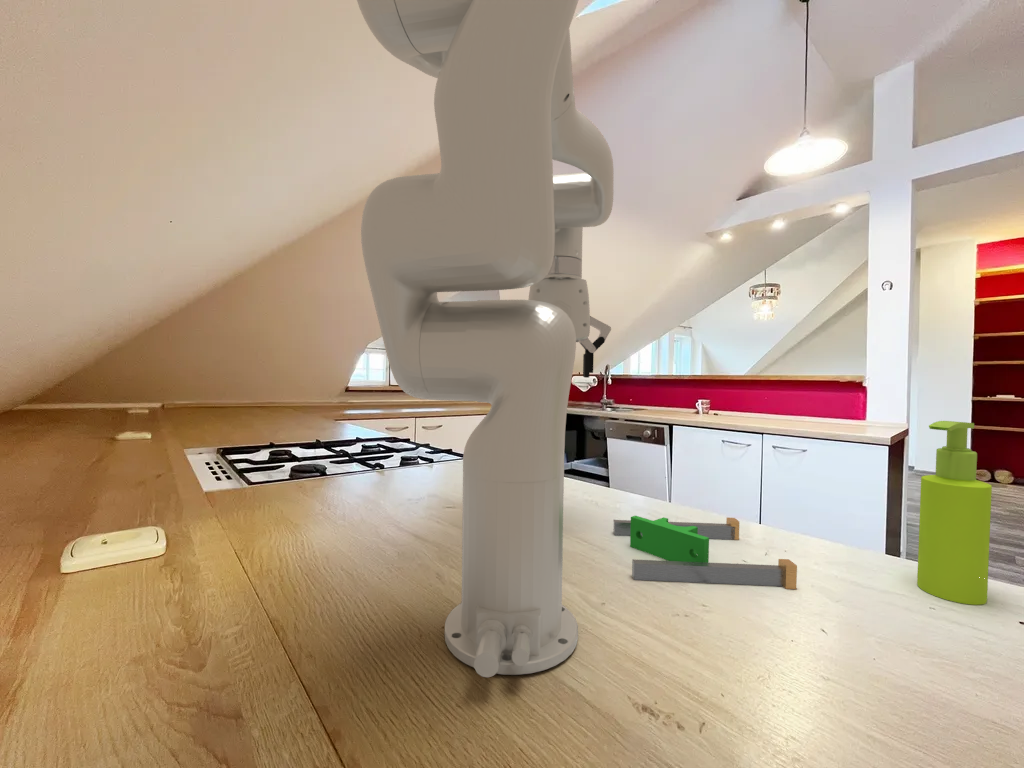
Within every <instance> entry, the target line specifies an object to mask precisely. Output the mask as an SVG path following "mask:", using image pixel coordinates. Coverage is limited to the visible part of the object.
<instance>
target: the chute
mask: <svg viewBox="0 0 1024 768" xmlns="http://www.w3.org/2000/svg"><path fill="white" fill-rule="evenodd" d="M725 521H726V522H725V523H715V522H714V523H713V522H711V523H710V522H687V521H685V522H683V521H668V523H669V524H672V525H676V526H682V527H689V526H695V527H698V535H702V536H705V537H708V538H709V540H710V539H711V540H732V541H733V540H734V541H739V540H740V521H739V520H738V519H737V518H736V517H726V519H725ZM630 531H631V519H613V535H614V536H623V537H625V536H629V537H630ZM641 536H642V533H641ZM631 561H632V562H631V563H632V564H631V565H632V566H631V576H632V578H633V580H635V581H650V582H651V581H656V582H674V583H675V582H676V583H697V584H719V585H720V584H721V585H724V584H725V585H742V586H743V585H746V586H750V585H751V586H765V587H766V586H768V587H783V588H784V589H787V590H797V579H798V578H797V577H798V565H797V564H796V563H795V562H793V561H792V560H790V559H787V558H778V565H775V564H773V565H772V564H753V563H750V564H748V563H726V562H708V563H707V562H683V561H668V560H657V559H655V560H652V559H635V558H633V559H632V560H631Z"/></svg>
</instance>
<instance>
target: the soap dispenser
mask: <svg viewBox="0 0 1024 768" xmlns="http://www.w3.org/2000/svg"><path fill="white" fill-rule="evenodd" d="M928 428H929V429H930V430H935V431H936V430H937V431H946V446H941V447H939V448H936V453H935V474H927V475H921V477H920V495H919V496H920V498H919V499H920V500H919V522H918V523H919V525H918V526H919V528H918V551H917V576H916V578H917V580H916V585H917V587H918V588H919V589H920V590H922V591H924V592H925V593H927V594H929V595H932V596H934V597H936V598H940V599H943V600H946V601H949V602H952V603H953V602H954V603H958V604H963V605H974V606H980V605H981V606H982V605H985V604H987V602H988V589H989V585H988V584H989V563H990V562H989V561H990V539H991V538H990V536H991V535H990V534H991V520H992V519H991V517H992V516H991V514H992V513H991V512H992V491H993V485H992V484H989V482H988V483H987V482H985V481H982V480H978V479H977V467H978V466H977V464H978V463H977V462H978V453H977V452H976V451H973V450H972V449H971V448H968V429H975V423H974V422H965V421H952V420H939V421H935V422H933V423H931V424H929V425H928ZM979 577H980V578H979ZM984 578H985V579H984Z"/></svg>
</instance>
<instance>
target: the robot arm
mask: <svg viewBox="0 0 1024 768" xmlns="http://www.w3.org/2000/svg"><path fill="white" fill-rule="evenodd" d="M356 1H357V4H358V7H359V10H360V12H361V14H362V16H363V19H364V21H365V24H366V25H367V27H368V29H369V30H370V32H371V34H372V35H373V36H374V37H375V39H376V40H377V41H378V43H379V44H380V45H381V46H382V47H383V48H384V49H385V50H386V51H387V52H389V54H391V55H392V56H393V57H394V58H396V59H398V60H399V61H401V62H403V63H405V64H407V65H409V66H411V67H412V68H415V69H416V70H418V71H420V72H422V73H424V75H425V74H426V75H428V76H430V77H432V78H436V84H435V88H434V97H433V99H434V100H433V106H434V107H433V108H434V109H433V110H434V118H435V123H436V130H437V131H436V132H437V137H438V138H437V139H438V147H439V155H440V171H439V173H438V172H437V173H429V174H428V173H427V174H417V175H404V176H398V177H394V178H391V179H387V180H385V181H383V182H381V183H379V184H378V185H377V186H376V187H375V188H373V190H372V191H371V192H370V193H369V195H368V197H367V199H366V201H365V204H364V207H363V211H362V216H361V225H360V235H361V236H360V238H361V241H360V242H361V249H362V255H363V260H364V261H363V262H364V265H365V266H364V268H365V272H366V276H367V279H368V283H369V288H370V293H371V296H372V300H373V303H374V305H373V306H374V308H375V312H376V316H377V322H378V324H379V329H380V332H381V336H382V341H383V345H384V348H385V353H386V357H387V361H388V364H389V368H390V371H391V373H392V376H393V378H394V381H395V383H396V384H397V385H398V387H399V388H400V390H402V391H403V392H404V393H405V394H406V395H408V396H410V397H412V398H416V399H421V400H429V401H431V400H432V401H456V402H457V401H461V402H464V401H467V402H478V403H487V404H490V405H491V407H490V409H489V411H488V412H487V414H486V415H485V416H484V418H483V419H481V421H480V422H479V423H478V425H476V427H475V429H473V431H472V432H471V434H470V435H469V436H468V439H467V441H466V443H465V446H464V449H463V457H462V517H461V518H462V521H461V522H462V526H461V527H462V530H461V532H462V533H461V534H462V535H461V541H462V542H461V602H460V603H459V604H458V605H456V606H455V607H454V608H453V609H451V611H450V612H449V614H448V615H447V616H446V619H445V621H444V640H445V644H446V645H447V649H448V650H449V651H450V652H451V653H452V655H453V656H454V657H455V658H457V659H458V660H459V661H461V662H462V663H463V664H464V665H465V664H466V665H468V666H469V667H471V668H474V669H475V672H476V674H477V675H479V676H480V677H483V678H490V677H493V676H495V675H497V674H498V675H502V676H503V675H504V676H506V675H507V676H509V675H511V676H518V675H530V674H533V673H534V674H535V673H539V672H542V671H545V670H548V669H551V668H554V667H555V666H557V665H559V664H561V663H562V662H564V661H565V660H566V659H567V658H568V657H569V656H570V655H572V654H573V652H574V651H575V648H577V644H578V639H579V625H578V622H577V619H576V617H575V616H574V614H573V612H571V611H570V610H569V609H568V608H567V607H566V606H565V605H563V553H564V551H563V550H564V547H563V545H564V544H563V543H564V495H565V491H564V489H565V487H564V486H565V448H566V447H565V446H566V425H567V414H568V403H569V397H570V396H569V395H570V390H571V384H572V380H573V379H572V378H573V372H574V365H575V361H576V353H577V352H576V350H577V343H579V344H580V345H581V347H582V348H583V349H584V353H583V356H582V357H583V360H582V362H583V363H582V365H583V366H582V377H583V378H586V379H587V378H590V374H593V373H594V353H596V351H597V350H598V349H599V348H600V347H602V346H603V344H604V343H605V342H606V340H607V338H608V336H609V335H610V333H611V330H612V327H611V326H610V325H609V324H606V323H604V322H603V321H600V320H599V319H597V318H595V317H593V316H591V313H590V297H589V286H588V283H587V282H588V281H587V279H584V278H582V276H583V273H582V271H583V228H590V227H591V228H593V227H597V226H601V225H603V224H604V223H606V222H607V221H608V219H609V218H610V216H611V213H612V210H613V204H614V160H613V156H612V151H611V148H610V146H609V143H608V142H607V140H606V138H605V137H604V134H603V133H602V132H601V131H600V129H599V128H598V126H597V125H596V124H594V122H593V121H592V120H591V119H589V117H587V116H586V115H585V114H584V113H583V112H581V111H580V110H579V109H577V108H576V100H575V99H576V98H575V97H576V96H575V88H574V87H575V86H574V76H573V73H574V72H573V63H572V46H571V45H572V44H571V34H570V27H571V24H572V21H573V19H574V16H575V12H576V9H577V6H578V2H579V0H356ZM553 161H557V162H560V163H564V164H567V165H569V166H572V167H575V168H577V169H578V170H581V172H568V173H556V174H554V169H553V167H554V166H553ZM582 171H583V172H582ZM528 287H529V292H528V299H482V300H481V299H479V300H463V301H462V300H460V301H439V299H438V293H449V292H450V293H453V292H454V293H457V292H481V291H485V292H487V291H506V290H518V289H522V288H528ZM591 327H592V328H595V329H596V330H598V331H599V335H598V336H597V338H596V339H595V340H594V341H593V342H592V341H591V340H590V338H589V337H590V333H591Z"/></svg>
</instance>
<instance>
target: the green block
mask: <svg viewBox="0 0 1024 768" xmlns="http://www.w3.org/2000/svg"><path fill="white" fill-rule="evenodd" d="M630 520H631V531H630V536H629V537H630V539H629V540H630V541H629V547H630V548H632V549H636V550H638V551H640V552H643V553H645V554H649V555H651V556H655V557H657V558H660V559H663V560H664V561H683V562H707V563H710V562H709V561H710V560H709V558H710V556H709V555H710V554H709V553H710V539H709V538H708V537H705V536H702V535H698V527H695V526H689V527H682V526H676V525H672V524H669V523H668V522H669V518H667V517H661V518H658V519H655V520H652V519H648V518H645V517H642V516H638V515H633V516H630ZM641 533H642V536H641Z"/></svg>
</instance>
